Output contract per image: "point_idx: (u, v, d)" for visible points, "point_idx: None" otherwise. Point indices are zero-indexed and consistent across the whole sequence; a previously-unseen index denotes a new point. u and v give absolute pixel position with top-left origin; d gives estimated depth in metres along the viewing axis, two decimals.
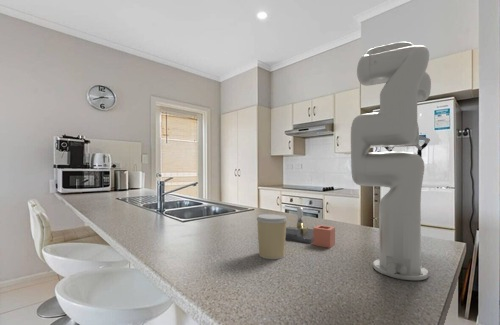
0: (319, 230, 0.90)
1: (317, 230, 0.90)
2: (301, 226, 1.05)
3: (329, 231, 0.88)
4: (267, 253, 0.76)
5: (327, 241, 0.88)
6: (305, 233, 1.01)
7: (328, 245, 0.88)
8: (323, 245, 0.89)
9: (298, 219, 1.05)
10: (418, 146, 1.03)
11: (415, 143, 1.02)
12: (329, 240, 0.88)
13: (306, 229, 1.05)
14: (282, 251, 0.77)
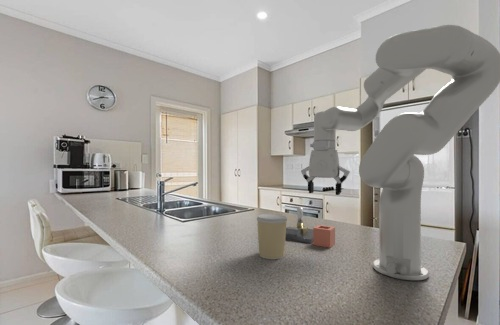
0: (319, 230, 0.90)
1: (317, 230, 0.90)
2: (301, 226, 1.05)
3: (329, 231, 0.88)
4: (267, 253, 0.76)
5: (327, 241, 0.88)
6: (305, 233, 1.01)
7: (328, 245, 0.88)
8: (323, 245, 0.89)
9: (298, 219, 1.05)
10: (336, 179, 0.89)
11: (332, 175, 0.88)
12: (329, 240, 0.88)
13: (306, 229, 1.05)
14: (282, 251, 0.77)
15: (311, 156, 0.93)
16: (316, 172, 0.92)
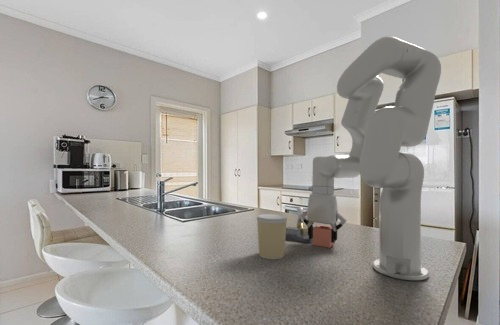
0: (319, 230, 0.90)
1: (317, 230, 0.90)
2: (301, 226, 1.05)
3: (329, 231, 0.88)
4: (267, 253, 0.76)
5: (327, 241, 0.88)
6: (305, 233, 1.01)
7: (328, 245, 0.88)
8: (323, 245, 0.89)
9: (298, 219, 1.05)
10: (333, 226, 0.89)
11: (331, 222, 0.88)
12: (329, 240, 0.88)
13: (306, 229, 1.05)
14: (282, 251, 0.77)
15: (309, 200, 0.93)
16: (314, 217, 0.91)
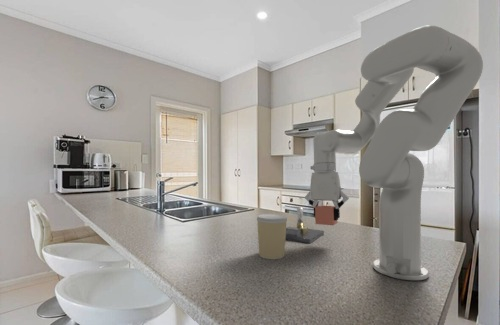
0: (321, 208, 0.89)
1: (319, 208, 0.90)
2: (301, 226, 1.05)
3: (331, 208, 0.88)
4: (267, 253, 0.76)
5: (329, 219, 0.88)
6: (305, 233, 1.01)
7: (331, 223, 0.87)
8: (325, 223, 0.88)
9: (298, 219, 1.05)
10: (335, 203, 0.89)
11: (334, 198, 0.87)
12: (331, 218, 0.87)
13: (306, 229, 1.05)
14: (282, 251, 0.77)
15: (312, 179, 0.92)
16: (318, 195, 0.91)
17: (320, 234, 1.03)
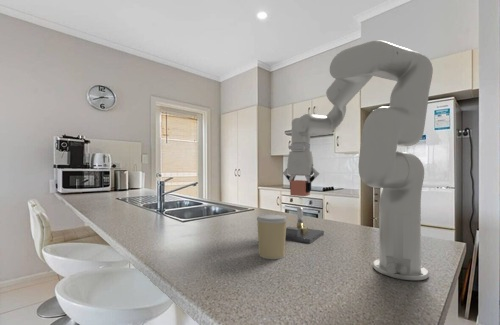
0: (295, 182, 1.04)
1: (294, 182, 1.04)
2: (301, 226, 1.05)
3: (303, 182, 1.02)
4: (267, 253, 0.76)
5: (302, 190, 1.02)
6: (305, 233, 1.01)
7: (302, 194, 1.02)
8: (298, 194, 1.03)
9: (298, 219, 1.05)
10: (307, 178, 1.03)
11: (307, 173, 1.02)
12: (303, 189, 1.02)
13: (306, 229, 1.05)
14: (282, 251, 0.77)
15: (289, 157, 1.06)
16: (293, 171, 1.05)
17: (320, 234, 1.03)
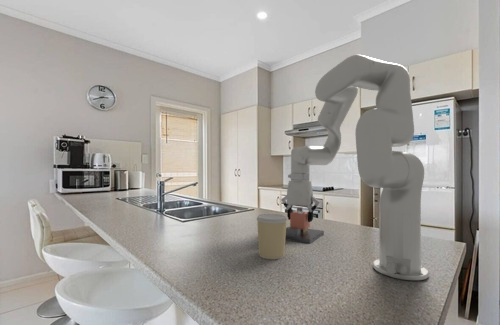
0: (295, 215, 1.03)
1: (293, 215, 1.04)
2: None
3: (303, 215, 1.02)
4: (267, 253, 0.76)
5: (302, 224, 1.02)
6: (305, 233, 1.01)
7: (302, 227, 1.02)
8: (298, 227, 1.02)
9: None
10: (309, 208, 1.02)
11: (306, 204, 1.02)
12: (303, 223, 1.01)
13: (306, 229, 1.05)
14: (282, 251, 0.77)
15: (288, 186, 1.06)
16: (292, 200, 1.05)
17: (320, 234, 1.03)
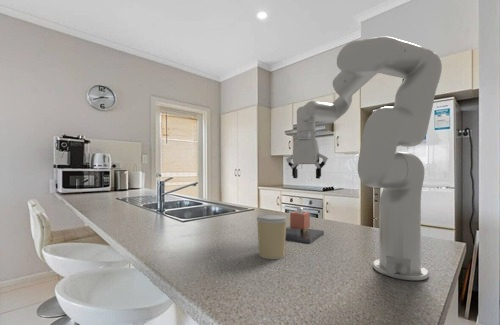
0: (295, 215, 1.03)
1: (293, 215, 1.04)
2: None
3: (303, 215, 1.02)
4: (267, 253, 0.76)
5: (302, 224, 1.02)
6: (305, 233, 1.01)
7: (302, 227, 1.02)
8: (298, 227, 1.02)
9: None
10: (316, 164, 1.02)
11: (313, 161, 1.01)
12: (303, 223, 1.01)
13: (306, 229, 1.05)
14: (282, 251, 0.77)
15: (294, 145, 1.06)
16: (299, 159, 1.04)
17: (320, 234, 1.03)
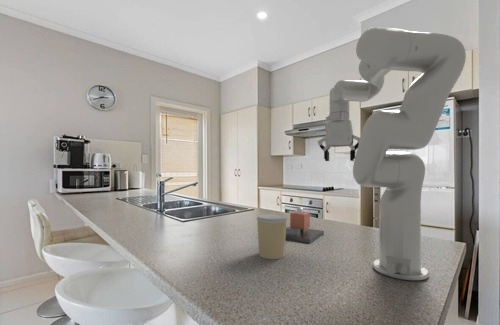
0: (295, 215, 1.03)
1: (293, 215, 1.04)
2: None
3: (303, 215, 1.02)
4: (267, 253, 0.76)
5: (302, 224, 1.02)
6: (305, 233, 1.01)
7: (302, 227, 1.02)
8: (298, 227, 1.02)
9: None
10: (351, 146, 0.99)
11: (347, 143, 0.98)
12: (303, 223, 1.01)
13: (306, 229, 1.05)
14: (282, 251, 0.77)
15: (327, 127, 1.03)
16: (332, 141, 1.02)
17: (320, 234, 1.03)
